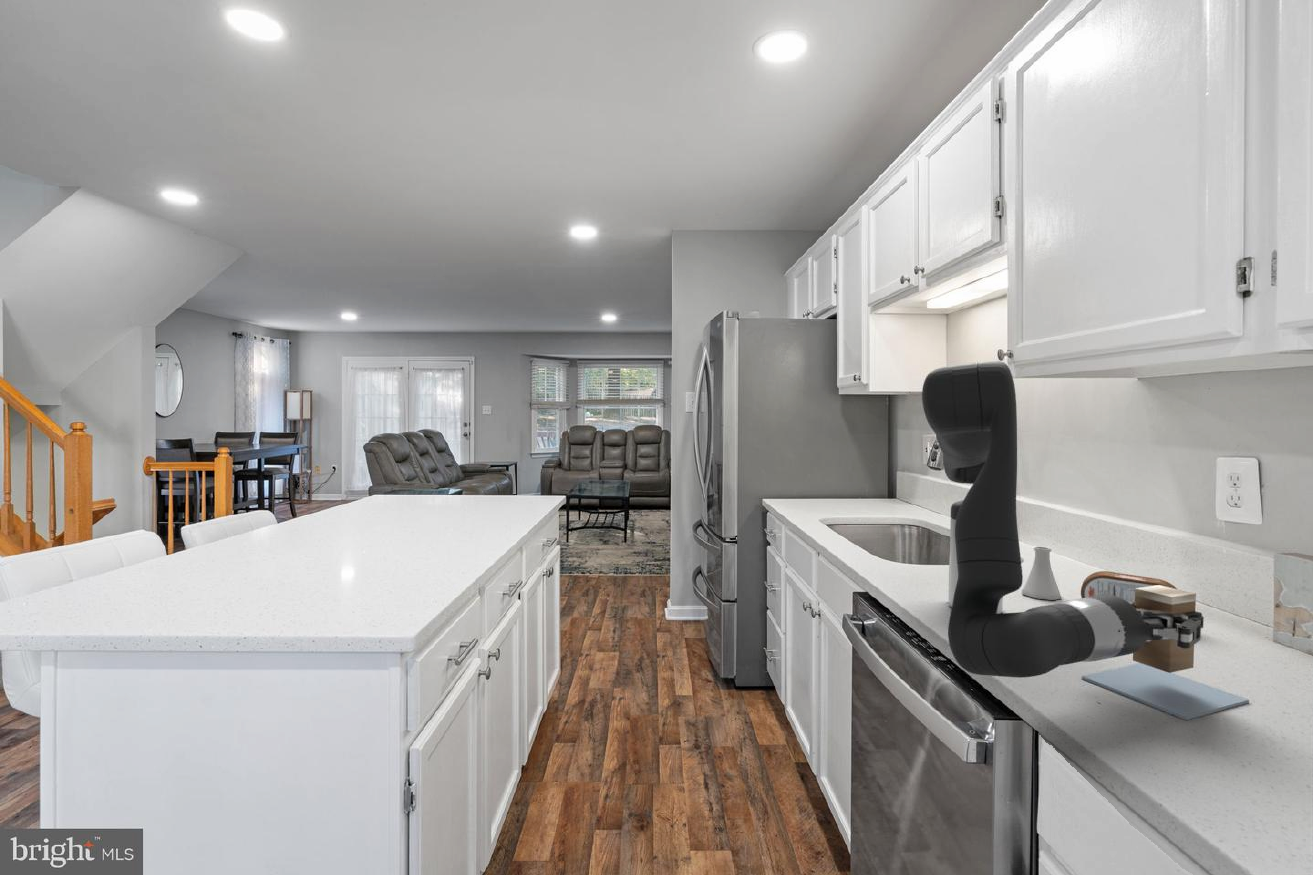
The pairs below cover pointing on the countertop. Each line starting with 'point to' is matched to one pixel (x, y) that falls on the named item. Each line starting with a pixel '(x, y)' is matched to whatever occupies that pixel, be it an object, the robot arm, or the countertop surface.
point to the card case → (1166, 650)
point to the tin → (1117, 584)
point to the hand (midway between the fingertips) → (1176, 613)
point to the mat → (1165, 690)
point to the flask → (1041, 577)
